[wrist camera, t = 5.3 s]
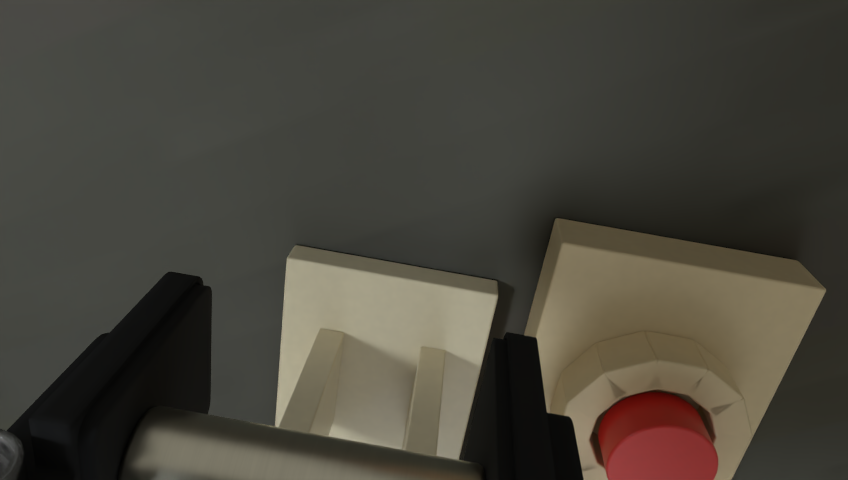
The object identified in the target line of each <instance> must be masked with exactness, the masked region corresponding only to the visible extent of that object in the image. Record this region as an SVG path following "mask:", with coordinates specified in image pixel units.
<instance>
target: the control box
mask: <svg viewBox="0 0 848 480" xmlns="http://www.w3.org/2000/svg"><path fill="white" fill-rule="evenodd" d="M825 292H826V289H825V288H824V287H823V286H822V285H821V284H820V283H819V282H818V281H817V280H816V279H815V278H814V277H813V275H812V274H811V273H810V272H809V271H808V270H807V269H806V268H805V267H804V266H803V265H802V264H801V263H800V262H799V261H797V260H791V259H786V258H780V257H774V256H769V255H763V254H758V253H752V252H746V251H741V250H735V249H729V248H724V247H718V246H712V245H707V244H701V243H696V242H690V241H684V240H679V239H673V238H667V237H662V236H656V235H650V234H645V233H639V232H633V231H628V230H622V229H617V228H611V227H605V226H600V225H594V224H588V223H583V222H577V221H571V220H566V219H560V218H556V219H555V222H554V225H553V229H552V233H551V237H550V240H549V244H548V248H547V251H546V255H545V259H544V262H543V266H542V270H541V274H540V277H539V281H538V285H537V288H536V292H535V296H534V299H533V303H532V307H531V311H530V314H529V318H528V322H527V325H526V329H525V333H524V335H525V336H531V337H536V338H537V342H538V350H539V357H540V365H541V372H542V380H543V387H544V395H545V402H546V410H547V413H553V414H558V415H564V416H569V417H570V418H571V419H572V422H573V425H574V430H575V436H576V441H577V446H578V452H579V457H580V463H581V468H582V473H583V479H584V480H608V478H607V474H606V470H605V466H604V461H603V457H602V453H601V448H600V444H599V439H598V431H599V427H600V423H601V421H602V419H603V417H604V416H605V414H606V413H607V412H608V411H609V409H611V408H612V407H613V406H614V405H615V404H617V403H618V402H620V401H621V400H623V399H625V398H628V397H630V396H633V395H636V394H641V393H647V392H661V393H667V394H672V395H675V396H677V397H680V398H682V399H684V400H685V401H687V402H688V403H690V404H691V405H692V406H693V407H694V408H695V409H696V410H697V411H698V413H699V415H700V416H701V419H702V421H703V423H704V425H705V427H706V429H707V432H708V434H709V436H710V438H711V440H712V443H713V445H714V447H715V449H716V452H717V455H718V470H717V474H716V476H715V478H714V480H731V479H732V478H733V476H734V474H735V472H736V470H737V468H738V466H739V464H740V462H741V460H742V458H743V456H744V454H745V452H746V450H747V448H748V446H749V444H750V442H751V440H752V438H753V436H754V434H755V432H756V430H757V428H758V426H759V424H760V422H761V420H762V418H763V416H764V414H765V412H766V410H767V408H768V406H769V404H770V402H771V400H772V398H773V396H774V394H775V392H776V390H777V388H778V386H779V384H780V382H781V380H782V378H783V376H784V374H785V372H786V370H787V368H788V366H789V364H790V362H791V360H792V358H793V356H794V354H795V352H796V350H797V348H798V346H799V344H800V342H801V340H802V338H803V336H804V334H805V332H806V330H807V328H808V326H809V324H810V322H811V320H812V318H813V316H814V314H815V312H816V310H817V308H818V306H819V304H820V302H821V300H822V298H823V296H824V294H825Z"/></svg>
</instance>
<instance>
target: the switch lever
mask: <svg viewBox="0 0 848 480" xmlns="http://www.w3.org/2000/svg"><path fill="white" fill-rule="evenodd" d="M118 480H485V473H484V468H483V466H481V465H480V464H478V463H474V462H468V461H463V460H457V459H452V458H446V457H441V456H435V455H430V454H424V453H419V452H413V451H408V450H402V449H396V448H391V447H385V446H380V445H374V444H369V443H363V442H358V441H352V440H347V439H341V438H336V437H330V436H325V435H319V434H313V433H308V432H302V431H297V430H291V429H286V428H280V427H275V426H269V425H264V424H258V423H253V422H247V421H242V420H236V419H230V418H225V417H219V416H214V415H208V414H203V413H197V412H192V411H186V410H181V409H175V408H170V407H164V406H157V407H153V408H151V409H149V410H148V411H147V412H146V413H145V414H144V415H143V416H142V417H141V419H140V420H139V422H138V423H137V425H136V426H135V428H134V430H133V432H132V434H131V436H130V438H129V441H128V443H127V446H126V448H125V451H124V454H123V457H122V461H121V465H120V470H119V476H118Z"/></svg>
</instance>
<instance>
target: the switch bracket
mask: <svg viewBox="0 0 848 480" xmlns="http://www.w3.org/2000/svg"><path fill="white" fill-rule="evenodd" d="M497 300H498V282H497V281H495V280H490V279H484V278H478V277H473V276H467V275H462V274H456V273H450V272H445V271H439V270H433V269H428V268H422V267H417V266H411V265H405V264H400V263H394V262H389V261H383V260H377V259H372V258H366V257H361V256H355V255H349V254H344V253H338V252H332V251H327V250H321V249H316V248H310V247H304V246H299V245H295V246H294V248H293V249H292V251H291V252H290V254H289V256H288V257H287V261H286V275H285V289H284V304H283V318H282V333H281V347H280V361H279V376H278V390H277V405H276V419H275V427H280V428H286V429H291V430H297V431H302V432H308V433H313V434H319V435H325V436H330V437H336V438H341V439H347V440H352V441H358V442H363V443H369V444H374V445H380V446H385V447H391V448H396V449H402V450H408V451H413V452H419V453H424V454H430V455H435V456H441V457H446V458H452V459H457V460H459V457H460V453H461V449H462V445H463V441H464V437H465V432H466V428H467V424H468V420H469V416H470V412H471V408H472V403H473V399H474V395H475V391H476V387H477V383H478V379H479V374H480V370H481V366H482V362H483V358H484V354H485V350H486V345H487V341H488V337H489V333H490V329H491V325H492V321H493V316H494V312H495V308H496V304H497Z"/></svg>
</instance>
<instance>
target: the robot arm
mask: <svg viewBox="0 0 848 480" xmlns="http://www.w3.org/2000/svg"><path fill="white" fill-rule="evenodd" d="M211 316H212V291H211V288H210V287H209V286H204V285H203V281H202V279H201V278H200V277H198V276H192V275H187V274H181V273H176V272H168V273H166V274H165V275H164V276H163V277H162V278H161V279H160V280H159V281H158V283H157V284H156V285H155V286H154V287H153V288H152V289H151V290H150V291H149V292H148V293H147V294H146V295H145V296H144V297H143V298H142V299H141V300H140V301H139V303H138V304H137V305H136V306H135V307H134V308H133V309H132V310H131V311H130V312H129V313H128V314H127V315H126V316H125V317H124V318H123V319H122V320H121V321H120V323H119V324H118V325H117V326H116V327H115V328H114V329H113V330H112V331H111V332H110V333H105V334H102V335H100V336H99V337H98V338H96V339H95V340H94V341H93V342H92V343H91V344H90V345H89V346H88V347H87V349H86V350H85V351H84V352H83V353H82V354H81V355H80V356H79V357H78V358H77V359H76V360H75V361H74V362H73V363H72V364H71V365H70V366H69V367H68V368H67V369H66V370H65V371H64V372H63V373H62V374H61V375H60V376H59V377H58V378H57V379H56V380H55V381H54V383H53V384H52V385H51V386H50V387H49V388H48V389H47V390H46V391H45V392H44V393H43V394H42V395H41V396H40V397H39V398H38V399H37V400H36V401H35V402H34V403H33V404H32V405H31V406H30V407H29V408H28V409H27V410H26V411H25V412H24V413H23V414H22V416H21V417H20V418H19V419H18V420H17V421H16V422H15V423H14V424H13V425H12V426H11V427H10V428H9V429H8V430H7V431H5V430H2V429H0V480H118V476H119V470H120V465H121V461H122V457H123V454H124V451H125V448H126V446H127V443H128V441H129V438H130V436H131V434H132V432H133V430H134V428H135V426H136V425H137V423H138V422H139V420H140V419H141V417H142V416H143V415H144V414H145V413H146V412H147V411H148V410H149V409H151V408H153V407H157V406H164V407H170V408H175V409H181V410H186V411H192V412H197V413H203V414H208V411H209V406H210V394H211ZM464 461H468V462H474V463H478V464H480V465H481V466H483V468H484V473H485V480H584V479H583V473H582V468H581V463H580V457H579V452H578V446H577V441H576V436H575V430H574V425H573V422H572V419H571V418H570V417H569V416H564V415H558V414H553V413H547V410H546V402H545V395H544V387H543V380H542V372H541V365H540V357H539V350H538V342H537V338H536V337H531V336H525V335H520V334H514V333H509V332H506V334H505V336H504V339H497V338H494V339H493V341H492V344H491V348H490V352H489V356H488V360H487V365H486V369H485V373H484V377H483V381H482V385H481V389H480V393H479V397H478V401H477V405H476V409H475V413H474V417H473V421H472V425H471V430H470V434H469V438H468V442H467V446H466V451H465V457H464Z"/></svg>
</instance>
